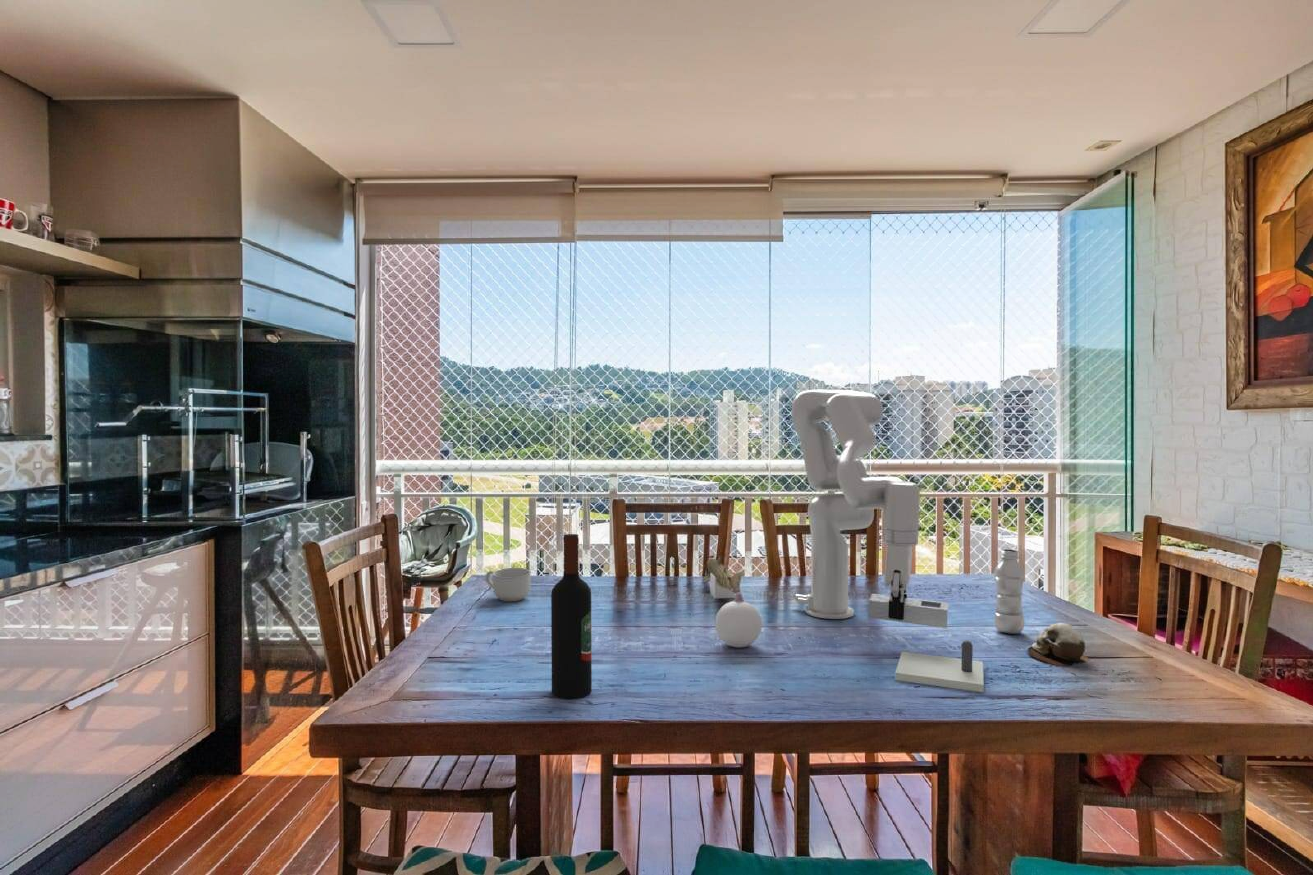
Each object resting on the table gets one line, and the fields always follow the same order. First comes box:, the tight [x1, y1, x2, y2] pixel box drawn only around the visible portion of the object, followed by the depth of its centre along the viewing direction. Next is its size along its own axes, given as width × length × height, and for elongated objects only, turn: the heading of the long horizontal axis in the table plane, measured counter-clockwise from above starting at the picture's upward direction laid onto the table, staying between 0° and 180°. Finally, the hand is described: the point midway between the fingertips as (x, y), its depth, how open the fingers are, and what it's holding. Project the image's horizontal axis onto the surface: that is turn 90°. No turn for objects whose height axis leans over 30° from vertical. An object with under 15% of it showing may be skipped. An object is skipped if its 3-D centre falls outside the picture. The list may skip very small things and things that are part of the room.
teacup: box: [485, 567, 532, 603], centre depth 209 cm, size 14×11×8 cm
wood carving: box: [702, 556, 743, 599], centre depth 210 cm, size 9×35×11 cm, turn 8°
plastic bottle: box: [993, 548, 1025, 635], centre depth 175 cm, size 6×7×20 cm
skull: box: [1027, 622, 1092, 668], centre depth 158 cm, size 12×10×10 cm
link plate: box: [867, 593, 949, 629], centre depth 164 cm, size 16×6×4 cm, turn 66°
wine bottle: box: [550, 533, 593, 700], centre depth 138 cm, size 8×8×30 cm
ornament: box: [714, 593, 763, 648], centre depth 165 cm, size 10×10×12 cm
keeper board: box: [894, 640, 985, 693], centre depth 147 cm, size 16×14×8 cm
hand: (897, 613), depth 165 cm, fingers closed on link plate, 6 cm apart
